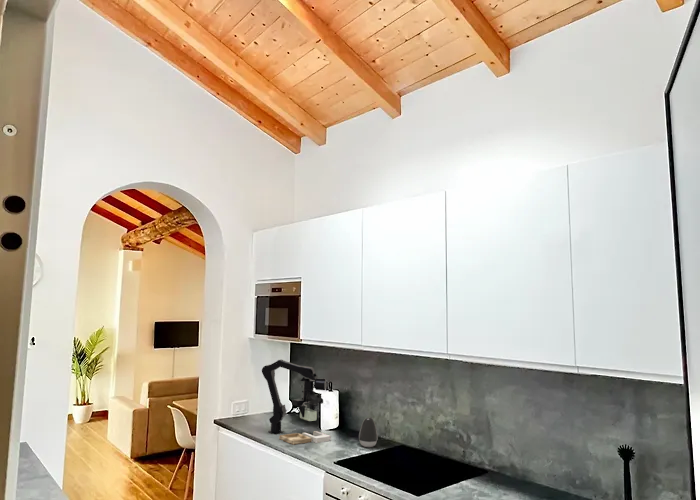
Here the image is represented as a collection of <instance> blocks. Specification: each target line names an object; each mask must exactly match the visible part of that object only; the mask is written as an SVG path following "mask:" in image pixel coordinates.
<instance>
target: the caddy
mask: <svg viewBox="0 0 700 500" xmlns="http://www.w3.org/2000/svg"><path fill="white" fill-rule="evenodd" d="M305 406H306V407H305V412H304V417H302V414H301V412H300V411H299V418H300V419H301V420H304V421H308V422H312V421H317V414H318V411H317V410H315V409H314V410H311V409H310V408H308V405H307V404H305Z"/></svg>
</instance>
